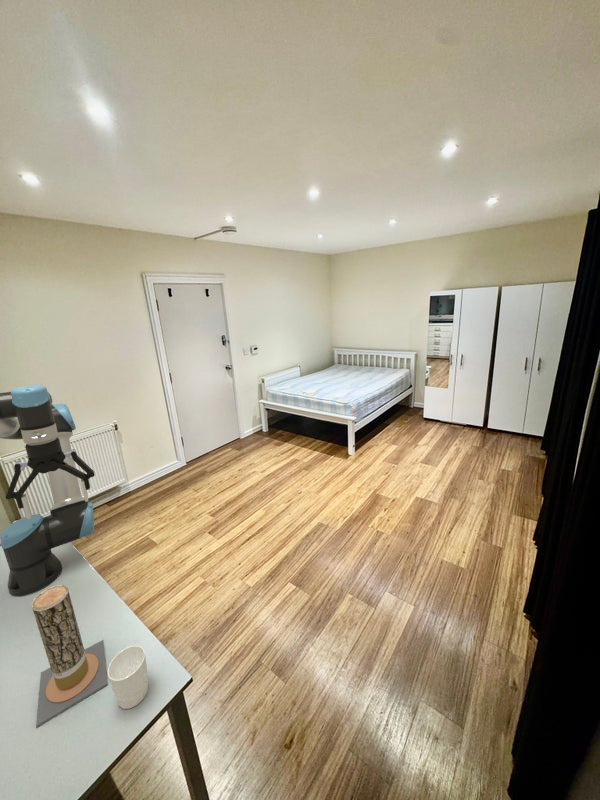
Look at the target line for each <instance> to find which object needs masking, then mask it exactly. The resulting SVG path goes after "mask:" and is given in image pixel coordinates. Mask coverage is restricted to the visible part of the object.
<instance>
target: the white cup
mask: <svg viewBox="0 0 600 800" xmlns="http://www.w3.org/2000/svg"><path fill="white" fill-rule="evenodd" d="M107 667H108V668H107V678H108V679H109V680H108V681H109V683H110V685H111V688H112V691H113V693H114V697H115V698H116V702H117V704H118V706H119V707H120V708H121V709H123V710H130V709H132V708H133V707H136V706H137V705H139V704H140V703H141V702H142V701H143V699H144V698H145V697H146V695H147V693H148V691H149V685H150V684H149V678H148V677H149V675H148V673H149V672H148V664H147V658H146V652H145V649H144V648H143V647H142V646H140V645H130V646H127V647H124V649H122V650H120V651H119V652H118V653H117V654H116V655H115V656H114V657H112V660H111V661H110V663H109V665H108V666H107Z"/></svg>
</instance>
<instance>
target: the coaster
mask: <svg viewBox="0 0 600 800" xmlns="http://www.w3.org/2000/svg"><path fill="white" fill-rule="evenodd" d="M84 650H85V654H86V658H87V662H88V670H87V672H86V674H85V676H84V677H83V678H82V680H81V681H80V682H78V683H77V684H76V685H74V686H73V687H71V688H68V689H59V688H57V686H56V683H55V680H54V677H53V674H52V671H51V667H50V666H49V667H48V668H46V669H45V670H43V671H41V672H40V678H39V679H40V680H39V690H38V699H37V708H36V711H37V712H36V721H35V728H39V727H40V726H43V725H45V723H47V722H49V721H50V720H52V719H55V717H57V716H60V714H62V713H65V712H66V711H68V710H69V709H71V708H72V707H74V706H76V705H77V704H79V703H80V702H82V701H83V700H86V699H87V698H89V697H91V696H92V695H94V694H96V693H98V692H99V691H101V690H102V689H104V688H106V687H107V686H108V685H109V680H108V673H107V672H108V669H107V663H106V661H107V660H106V653H105V644H104V639H102V640H100V641H98V642H96V643H94V644H92V645H91V646H88V647H87V648H84Z"/></svg>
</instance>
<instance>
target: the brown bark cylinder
mask: <svg viewBox="0 0 600 800" xmlns="http://www.w3.org/2000/svg"><path fill="white" fill-rule="evenodd" d="M31 608H32V611H33V614H34V618H35V621H36V624H37V628H38V631H39V635H40V638H41V641H42V644H43V647H44V651H45V654H46V657H47V661H48V664H49V668H50V667H51V671H52V674H53V677H54V680H55V683H56V686H57V688H59V689H68V688H71V687H73V686H74V685H76V684H77V683H78V682H80V681H81V680H82V678H83V677H84V676H85V674H86V672H87V670H88V662H87V658H86V654H85V647H84V644H83V640H82V636H81V633H80V628H79V625H78V622H77V621H78V620H77V618H76V614H75V610H74V605H73V602H72V599H71V595H70V591H69V589H68V586H66V585H64V584H58V585H54V586H51V587H49V588H47V589H45V590H43V591H42V592H40V593H39V594H38V595H37V596H36V597H34V598H33V601H32V602H31Z"/></svg>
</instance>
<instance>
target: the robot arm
mask: <svg viewBox="0 0 600 800" xmlns="http://www.w3.org/2000/svg"><path fill="white" fill-rule="evenodd" d="M76 429H77V427H76V424H75V421H74V420H73V416H72V415H71V411H70V409H69V407H68V405H67V404H65V403H56V404H53V398H52V395H51V394H50V393H49V391H48V389H47V387H46V386H45V385H42V384H33V385H25V386H20V387H19V386H18V387H15V388H13V389H11V391H5V392H0V439H3V440H23V443H24V444H25V446H24V448H25V452H26V455H27V459H28V461H22V462H21V461H20V460H19V461H16V462H14V466H13V468H14V474H13V477H12V479H11V482H10V484H9V488H8V490H7V492H6V495H5V499H6V500H10V499H14V500H15V501H16V503H17V508H18V509H19V510H22V509H24V513H25V516H23V517H22V518H20V519H17V520H16V521H14V522H12V523H11V524H9V525H8V526H6V528H4V530H2V532H1V534H0V543H1V549H2V550H3V553H4V556H5V559H6V563H7V566H8V568H9V574H8V581H7V589H8V592H9V594H10V595H11V596H13V597H23V596H28V595H31V594H34V593H36V592H39V591H40V590H43V589H45V588H46V587H47V586H49V585H51V584H52V583H53V582H55V580H57V579H58V577H59V576H61V574H62V572H63V564H62V562H61V560H60V559H59V558H58V557H57V556H56V555H55V554H54V553H53V551H52V549H54V548H57V547H60V546H62V545H65V544H68V543H72V542H74V541H77V540H81V539H83V538H85V537H86V536H89V535H91V534H93V532H94V530H95V519H94V517H95V515H94V506H93V505H94V504H93V503H92V502H89V497H88V492H87V490H90V489H91V484H90V479H91V478H93V477H95V474H96V473H95V471H94V470H93V469H92V468H91V467H90V465H89V464H87V463H86V462H85V461H84V459H82V458H81V457H80V456H79V455H78V453H77V450H76V449H72V445H71V442H70V439H71V438H72V437H73V434H74V433H73V431H76ZM75 464H76V465H78V467H80V468H81V469H82V470H83V471H81V470H79V469H78V468H76V465H75ZM26 467H28V468H31V469H32V471H31V473H30V474H29V475H28V476H27V478H26V479H25V481H23V483H22V484H21V486H20V488H19V489H18V490H17V491H15V489H16V486H17V484H18V481H19V479H20V475H21V474H22V471H24V470H25V468H26ZM39 474H42V475H44V474H47V475H48V479H49V481H48V482H49V486H50V490H51V497H52V500H53V506H52V507H51V508H50V510H49V512H50V513H49V514H50V515H48V516H42V515H41V514H33V513H32V510H31V507H30V506H31V505H30V504H29V503H30V502H29V500H28V496H27V493H25V492H26V491H27V490H28V488H29V486H31V484H32V483H33V481H34V480H35V478H36V477H38V475H39ZM78 478H79V479H80V483H81V484H80V483H79V479H78ZM80 485H81V488H82V492H81V488H80ZM82 493H83V495H82Z"/></svg>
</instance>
